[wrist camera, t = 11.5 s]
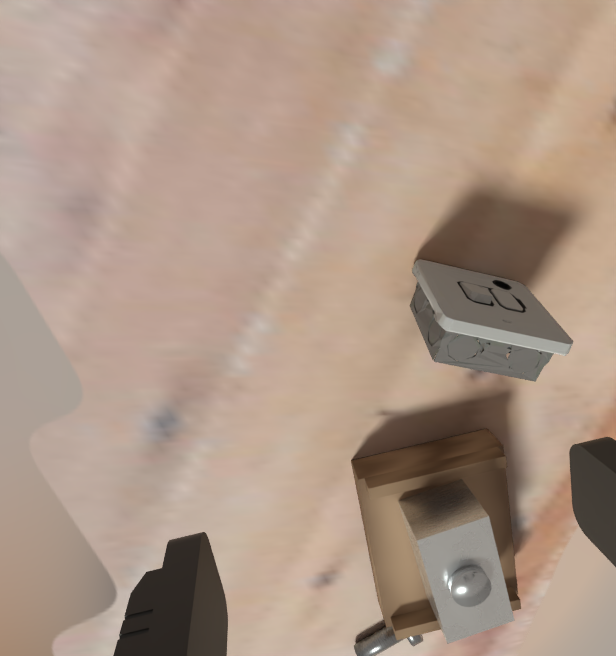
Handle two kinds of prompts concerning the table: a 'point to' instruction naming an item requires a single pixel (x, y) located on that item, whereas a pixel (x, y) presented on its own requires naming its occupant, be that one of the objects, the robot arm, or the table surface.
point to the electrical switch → (484, 322)
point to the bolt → (381, 642)
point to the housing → (457, 560)
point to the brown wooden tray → (390, 531)
